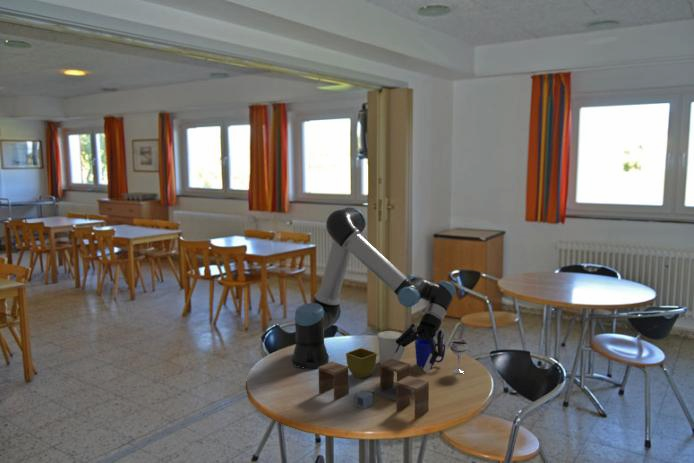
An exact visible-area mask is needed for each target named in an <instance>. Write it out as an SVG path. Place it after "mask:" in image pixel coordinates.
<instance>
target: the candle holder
mask: <svg viewBox="0 0 694 463" xmlns="http://www.w3.org/2000/svg"><path fill="white" fill-rule="evenodd" d="M402 334H403V333H401V332H398V331H395V330H385V331H380V332H378V334H377V337H378V338H377V340H378V353H379V354H378V356H379V357H378V358H379V363H380V364H382V363H384V362H386V361H388V360H390V359H394V357H395V355H396V350H397V348H398V344H397V343H396V340H397V339H398V338H399V337H400V336H401V335H402ZM401 358H402V357H401ZM401 358H400V360H399V361H401ZM380 364H379V365H380Z"/></svg>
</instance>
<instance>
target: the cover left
mask: <svg viewBox="0 0 694 463" xmlns="http://www.w3.org/2000/svg"><path fill="white" fill-rule="evenodd" d="M317 369H318V370H317V371H318V394H319V395H323V394H324V393H326V391H327V392H328V391H330V390H333V400H334V401H336V400H339V399H341V398H343V397H345V396H347V395H349V394H350V392H349V391H350V390H349V389H350V388H349V386H350V384H349V368H348V365H344V364H341V363H337V362H335V361H329V362H328V363H327V364H325V365H322V366H320V367H318V368H317Z"/></svg>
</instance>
